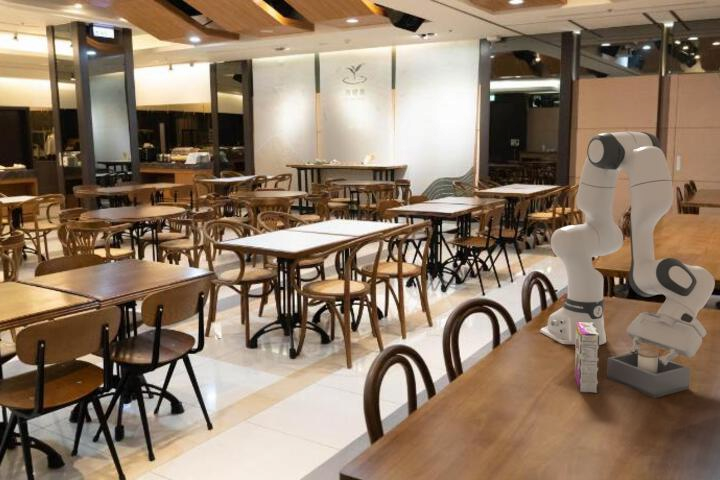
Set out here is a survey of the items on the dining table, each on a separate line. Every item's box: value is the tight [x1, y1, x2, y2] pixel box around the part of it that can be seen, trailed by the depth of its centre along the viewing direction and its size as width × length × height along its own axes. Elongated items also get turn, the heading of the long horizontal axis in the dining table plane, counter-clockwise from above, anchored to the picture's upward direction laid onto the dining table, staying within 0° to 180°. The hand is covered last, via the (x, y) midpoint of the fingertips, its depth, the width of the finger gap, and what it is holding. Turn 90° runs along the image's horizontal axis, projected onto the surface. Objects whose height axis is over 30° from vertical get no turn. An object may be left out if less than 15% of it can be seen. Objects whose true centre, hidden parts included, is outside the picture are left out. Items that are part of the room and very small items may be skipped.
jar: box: [637, 348, 659, 374], centre depth 178 cm, size 5×5×8 cm
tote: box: [606, 352, 691, 399], centre depth 178 cm, size 16×13×6 cm
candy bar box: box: [574, 322, 600, 394], centre depth 177 cm, size 11×5×16 cm, turn 168°
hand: (647, 358), depth 177 cm, fingers open, 8 cm apart
